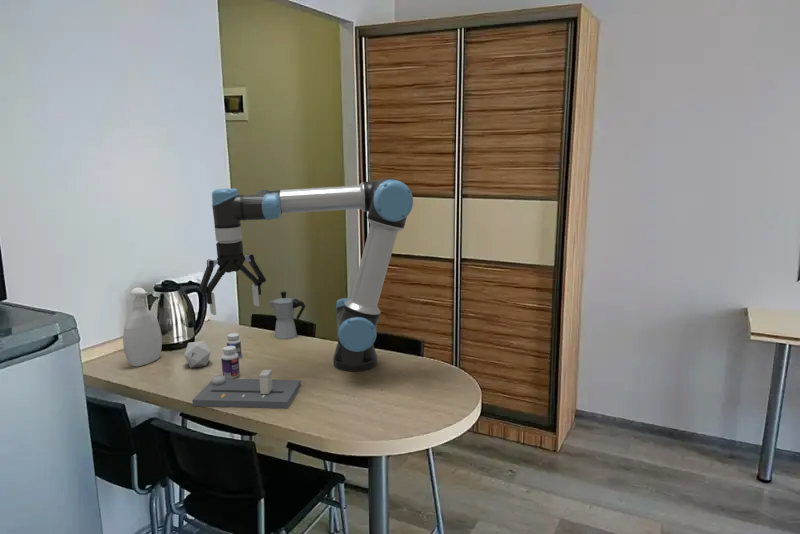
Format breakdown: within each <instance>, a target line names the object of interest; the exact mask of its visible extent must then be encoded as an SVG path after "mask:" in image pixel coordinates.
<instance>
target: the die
mask: <svg viewBox="0 0 800 534" xmlns="http://www.w3.org/2000/svg"><path fill="white" fill-rule="evenodd" d="M210 355H211V350H210V348H209V347H208V345H207V343H206V341H205V340H200V341H193V342H192V341H191V342H188V343H187V345H186V348H185V352H184V355H183V356H184V357H185V360H186V362H187V364H188V365H189V367H190V369H191V368H199V367H206V366H207V365H208V362H209V359H210Z"/></svg>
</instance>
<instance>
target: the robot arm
mask: <svg viewBox="0 0 800 534" xmlns="http://www.w3.org/2000/svg"><path fill="white" fill-rule="evenodd" d="M211 197H212V198H211V201H212V204H211V208H212V213H213V221H214V222H213V223H214V233H215V234H214V235H215V241H216V244H215V245H216V255H217V258H216V259H206V268H205V271H204V274H203V276H202V279H201V281H200V284H199V286H198V291H199V292H200V293H202V294H204V295H205V302H206V303H207V304H208V305H209V311H210V314H211V315H213V316H216V315H217V307H216V298H215V296H216V295H215V293H214V292H213V291H214V289H215V287H216V286H218V283H219V282H220V280H221V279H222V277H223V276H224V275H225V274H226V273H228V274H230V273H232V272H239V271H241V272H242V273H243V274H244V275H245V276H246V277H247V278H248V279H249V280H251V282H252V283H253V284H251V291H252V300H253V301H252V302H253V306H255V307H256V308H257V307H260V297H259V296H260V295H261V294H262V289H261V286H262V285H263V283H265V282H266V281H267V279H266V277H265V276H264V274H263V272H262V270H261V269H260V268H259V265H258V264H257V262H256V260H255V256H254V254H252V253H247V254H246V255H244V248H243V241H242V239H243V235H242V224H241V221H257V220H259V221H260V220H261V221H263V220H266V221H267V220H268V221H271V220H276V219H279V218H280V217H281V215H282V214H295V213H297V214H298V213H310V212H312V213H313V212H328V211H331V212H333V211H345V210H346V211H347V210H349V211H350V210H361V211H363V213H364V212H368V213H367V218H366V219H367V221H368V222H369V225H370V226H369V229H368V233H367V236H366V241H365V243H364V248H363V252H362V255H361V260H360V263H359V268H358V270H357V274H356V279H355V282H354V286H353V289H352V293H351V297H343V298H340V299H337V301H336V306H335V309H336V333H337V335H336V336H337V344H336V347H335V351H334V354H333V358H332V361H333V363H332V364H333V367H335V368H336V369H338V370H341V371H345V372H359V371H361V372H362V371H366V370H369V369H373V368H374V367H376V365H378V355H377V352H376V349H375V346H374V343H375V342H376V339H377V333H378V332H377V326H378V323H379V319H380V315H381V310H380V308H379V307H378V305H379V301H380V297H381V293H382V290H383V286H384V284H385V283H384V282H385V280H386V275H387V272H388V269H389V264H390V261H391V258H392V253H393V249H394V246H395V242H396V239H397V235H398V233H399V232H401V231H402V230H404V228H405V225H406V222H407V217H408V216H409V215H410V213H411V211H412V210H413V208H414V207H413V206H414V198H413V194H412V191H411V189H410V188H409V186H408V185H407V184H405V183H404V182H403V181H400V180H399V179H395V178H392V177H389V178H382V179H378V180H376V179H375V180H371V181H361V183H359V184H358V185H342V186H327V187H324V186H323V187H311V188H310V187H308V188H294V189H293V188H291V189H290V188H289V189H280V190H278V189H276V190H275V189H274V190H268V189H263V190H259V191H257V192H256V193H254V194H239V191H238V189H237V188H218V189H214V190H213V191H212V192H211ZM245 261H246V262H248V263H249V265H250V267H251V268H252V270H253V272H254V273H255V275H256V276H254V274H253V273H252V272H250V271H249V270H248V268H247V267H246V266H244V263H245ZM216 265H218V266H219V267H218V268H217V270H216V272H215V274H214V276H213V277H212V275H213V271H214V269H215V267H216ZM211 277H212V278H211ZM207 304H206V305H207Z"/></svg>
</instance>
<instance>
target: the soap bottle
mask: <svg viewBox="0 0 800 534" xmlns="http://www.w3.org/2000/svg"><path fill="white" fill-rule="evenodd" d="M129 294H130V295H132V296H136V298H134V299H133V300H132V304H133V305H132V306H133V308H132V309H131V312H130V313H129V314H128V316H127V318H126V322H125V324H124V327H123V336H122V337H123V339H122V341H123V342H122V344H123V352H124V355H125V359H126V360H127V362H128V363H129V365H130V366H132V367H136V368H137V367H142V366H146V365H149V364H151V363H153V362H156V361H157V360H158V359H159V358H160V355H161V351H162V346H163V338H162V331H161V327H160V324H159V320H158V318H157V317H156V316H155V314H154V313H153V312H152V311H150V310H149V309H148V308H147V307H146V301H145V299H144V298H143V297H141V295H142V296H145V295H148V294H149V291H146V290H145V289H144V288H142V287H135V288H132V289H131V291H130V292H129Z"/></svg>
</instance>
